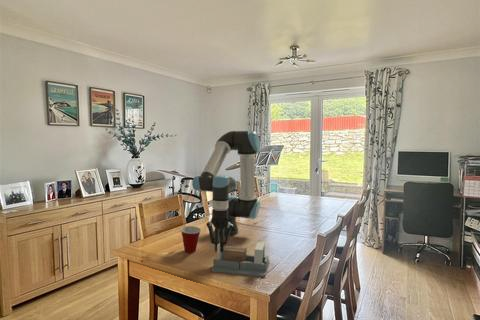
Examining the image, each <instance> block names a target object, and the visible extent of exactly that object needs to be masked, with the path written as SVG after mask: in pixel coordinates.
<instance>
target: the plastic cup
mask: <svg viewBox="0 0 480 320" xmlns="http://www.w3.org/2000/svg"><path fill="white" fill-rule="evenodd" d="M180 232H181V236H182V243H183V248H184V252H185V253H187V254H192V253H196V250H197V247H198V242H199V238H200V234H201V232H202V229H201V228H200V227H199V226H193V225H188V226H187V225H186V226H183V227H180Z"/></svg>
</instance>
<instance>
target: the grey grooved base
mask: <svg viewBox="0 0 480 320" xmlns="http://www.w3.org/2000/svg"><path fill="white" fill-rule="evenodd" d="M265 246H266V243H265V242H257V243H256V245H255V248H254V251H253V252H254V254H248V253H246V262H237V261H228V260H223V252H222V253H221V259H220V260H219V259H217V258H213V262H212V263H213V266H212V268H211V272H214V273H225V274H232V275H240V276H241V275H242V276H249V277H256V278H266V276H267V273H268V269H269V265H270V257H269V255H265V252H266V247H265Z"/></svg>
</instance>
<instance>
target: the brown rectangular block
mask: <svg viewBox="0 0 480 320" xmlns="http://www.w3.org/2000/svg"><path fill="white" fill-rule="evenodd" d="M246 254H247V247H240V246H230V245H226V246H225V247H224V249H223V260H228V261H237V262H246Z"/></svg>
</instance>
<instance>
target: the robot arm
mask: <svg viewBox="0 0 480 320" xmlns="http://www.w3.org/2000/svg"><path fill="white" fill-rule="evenodd" d="M260 146H261V141H260V137H259V134H258V133H257V132H256V131H252V130H237V131H236V130H230V131H228V132H226V133H224V134H223V135H222V136H220V137H219V138H218V140H217V141H216V143H215V145H214V149H213V151H212V154H211V155H210V157H209V160H208V161H207V163H206V165H205V167H204V168H203V170H202V172H201V173H200V175H195V176H194V177H193V179H192V182H191V183H192V184H191V185H192V188H193V190H194V191H198V192H209V193H211V192H212V198H211V199H212V200H211V201H212V203H211V204H212V205H211V206H212V207H211V208H212V209H211V217H212V218H211V220H210V221H208V222H206V227H207V229H208V232H209V233H208V234H209V237H210V242H211V244H213V245H214V251H215V252H216V259H219V260H220V259H221V253H222V252H223V249H224V248H225V247H224V246H225V245H226V246H227V244H228V242H229V239H230V236H235V235H237V234H239V226H238V224H237V218H240V219H241V218H242V219H248V220H250V219H252V220H254V219H256V218H257V217H258V216H259V212H260V209H261V200H259V199H258V196H257V195H256V194H255V193H256V192H255V156H256V155H257V154H258V153H257V152H259V151H260V148H261V147H260ZM231 151H237V155H238V156H239V157H240V158H239V159H240V160H239V163H240V164H239V165H240V167H239V169H240V171H239V172H240V173H239V174H240V194H239V195H238V197H237V195H232V194H231V195H229V194H230V193H233V192H235V191H236V190H237V188H238V181H237V179H236V178H234V177H232V176H227V175H223V174H221V175H220V174H219V175H218V173H219V171H220V169H221V167H222V165H223V162H224V161H225V158H226V156H227V155H228V154H230V152H231ZM213 227H214V228H213Z"/></svg>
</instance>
